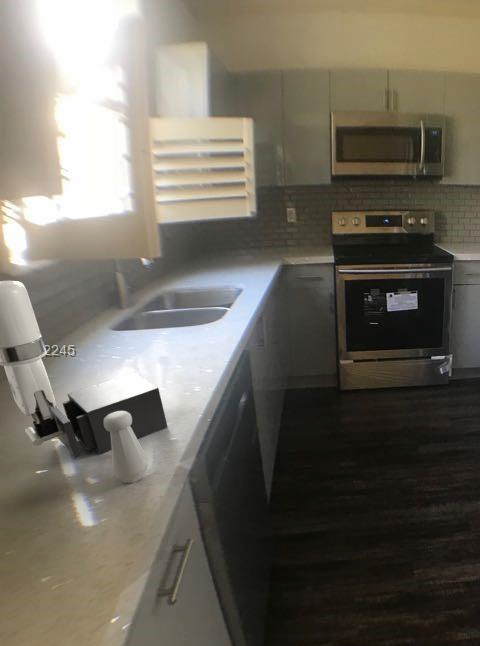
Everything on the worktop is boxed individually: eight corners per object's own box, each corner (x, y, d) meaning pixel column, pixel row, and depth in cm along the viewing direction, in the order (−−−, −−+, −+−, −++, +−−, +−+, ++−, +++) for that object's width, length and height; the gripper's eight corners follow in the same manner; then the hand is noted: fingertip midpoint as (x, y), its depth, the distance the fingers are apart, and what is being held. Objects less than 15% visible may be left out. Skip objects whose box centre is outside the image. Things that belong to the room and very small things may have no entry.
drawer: (45, 470, 85) (31, 434, 82) (29, 448, 92) (17, 414, 89) (141, 432, 97) (133, 399, 94) (121, 415, 104) (112, 384, 101)
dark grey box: (99, 454, 91) (87, 412, 88) (79, 432, 99) (67, 393, 96) (167, 427, 100) (158, 387, 97) (144, 409, 108) (135, 372, 105)
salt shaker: (137, 463, 88) (121, 404, 83) (157, 471, 85) (142, 410, 81) (108, 481, 83) (89, 419, 78) (129, 489, 81) (111, 426, 76)
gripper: (-15, 346, 85) (17, 432, 92) (2, 367, 75) (37, 460, 82) (33, 336, 90) (60, 417, 97) (55, 353, 81) (83, 442, 87)
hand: (49, 437), depth 89 cm, fingers closed
